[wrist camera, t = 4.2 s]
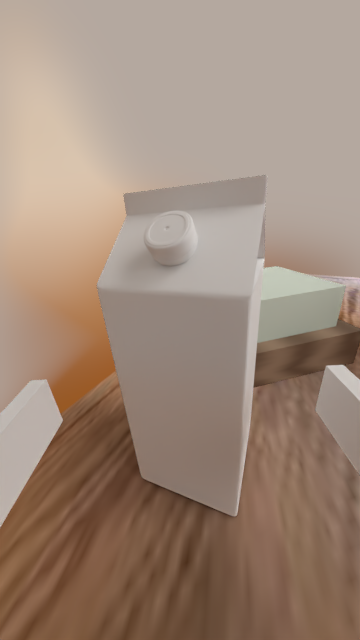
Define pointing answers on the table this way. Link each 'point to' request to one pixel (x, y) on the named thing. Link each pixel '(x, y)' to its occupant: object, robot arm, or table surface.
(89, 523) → the table surface
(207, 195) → the milk carton
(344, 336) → the tower base
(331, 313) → the tower top
